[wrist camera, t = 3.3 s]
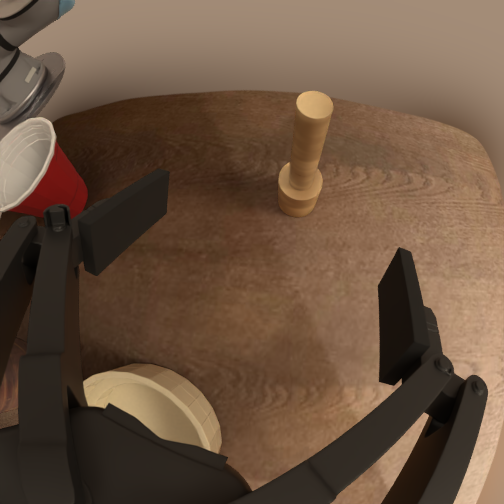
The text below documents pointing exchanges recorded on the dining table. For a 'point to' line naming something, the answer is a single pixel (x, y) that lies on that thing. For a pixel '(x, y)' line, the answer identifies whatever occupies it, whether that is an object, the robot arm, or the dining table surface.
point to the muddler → (305, 155)
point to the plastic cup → (37, 171)
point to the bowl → (158, 403)
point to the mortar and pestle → (12, 378)
